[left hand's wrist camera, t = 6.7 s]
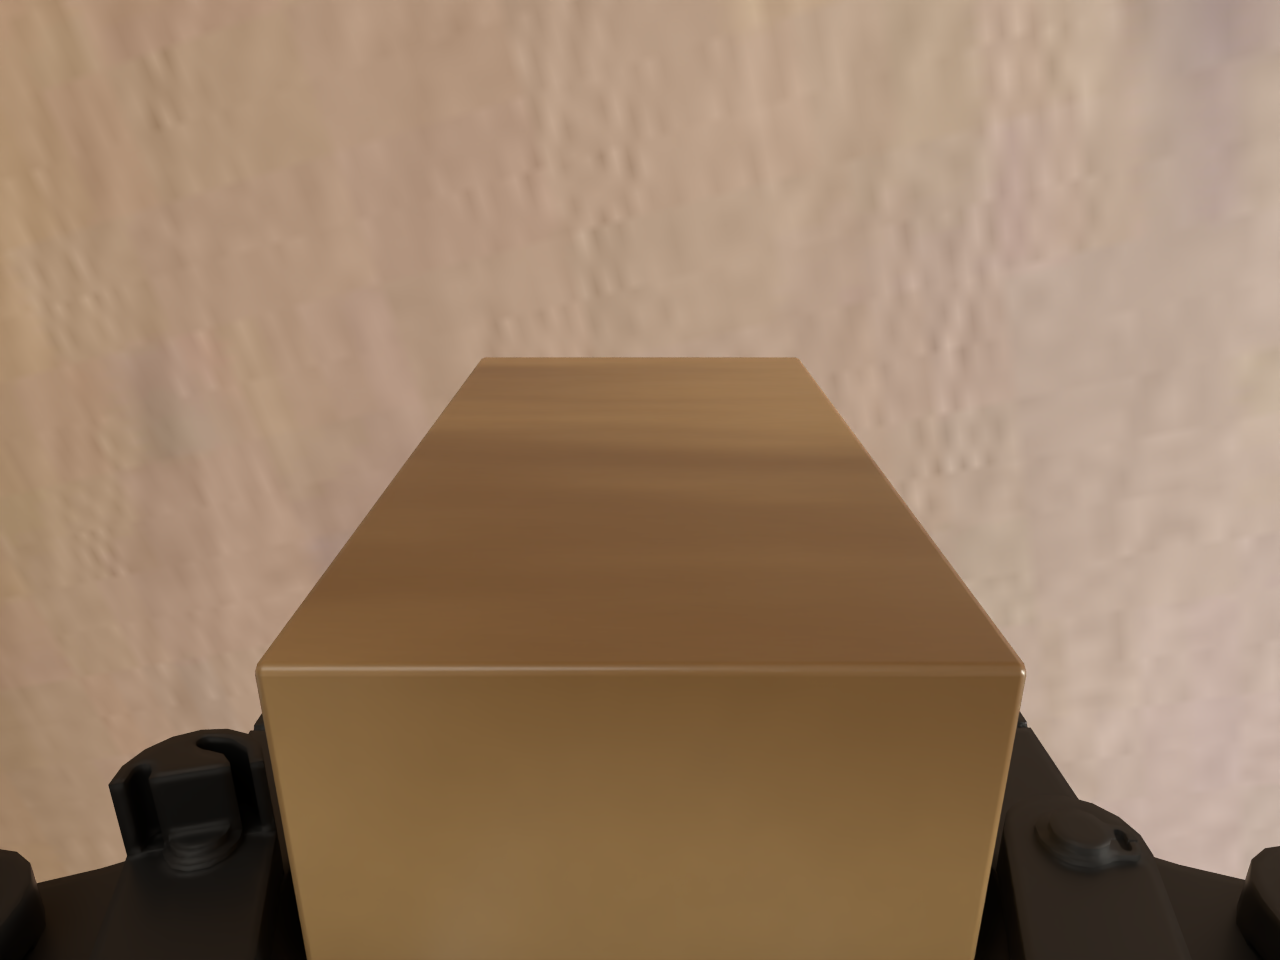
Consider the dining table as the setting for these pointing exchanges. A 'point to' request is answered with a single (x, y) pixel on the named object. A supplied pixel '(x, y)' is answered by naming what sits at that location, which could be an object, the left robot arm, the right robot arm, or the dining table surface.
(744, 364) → the bar
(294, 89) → the dining table surface
